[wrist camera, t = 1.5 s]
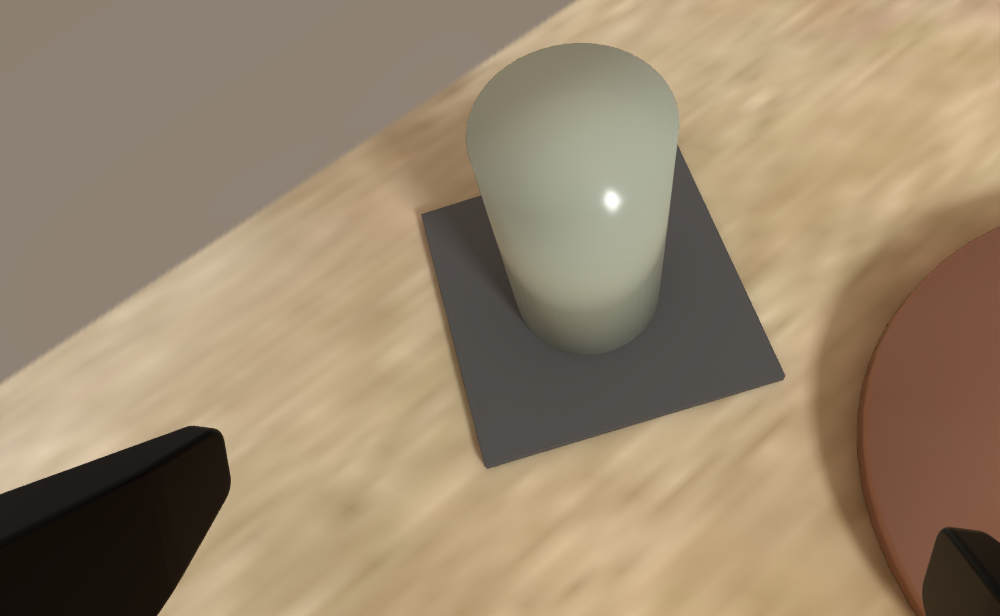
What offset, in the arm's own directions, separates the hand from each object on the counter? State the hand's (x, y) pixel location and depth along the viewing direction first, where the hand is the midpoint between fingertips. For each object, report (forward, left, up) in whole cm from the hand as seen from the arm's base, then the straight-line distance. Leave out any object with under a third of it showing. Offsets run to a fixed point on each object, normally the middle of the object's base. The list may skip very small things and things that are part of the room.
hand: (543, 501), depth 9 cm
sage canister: (+3, +9, -14) cm, 16 cm away
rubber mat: (+3, +9, -14) cm, 17 cm away
